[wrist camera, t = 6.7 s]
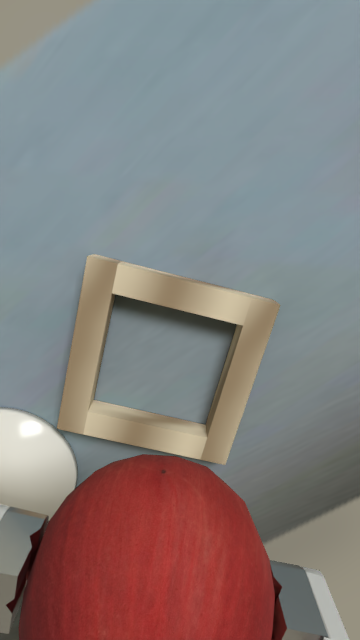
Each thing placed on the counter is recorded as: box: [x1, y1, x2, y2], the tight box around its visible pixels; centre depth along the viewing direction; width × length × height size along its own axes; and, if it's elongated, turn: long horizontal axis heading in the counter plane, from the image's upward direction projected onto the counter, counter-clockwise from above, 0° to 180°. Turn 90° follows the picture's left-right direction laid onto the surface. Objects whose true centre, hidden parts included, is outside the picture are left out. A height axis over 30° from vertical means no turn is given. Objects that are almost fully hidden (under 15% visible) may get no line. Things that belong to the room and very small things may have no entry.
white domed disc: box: [0, 407, 78, 521], centre depth 24 cm, size 10×10×1 cm
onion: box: [19, 454, 275, 640], centre depth 8 cm, size 6×6×8 cm
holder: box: [57, 254, 280, 465], centre depth 21 cm, size 12×12×2 cm
